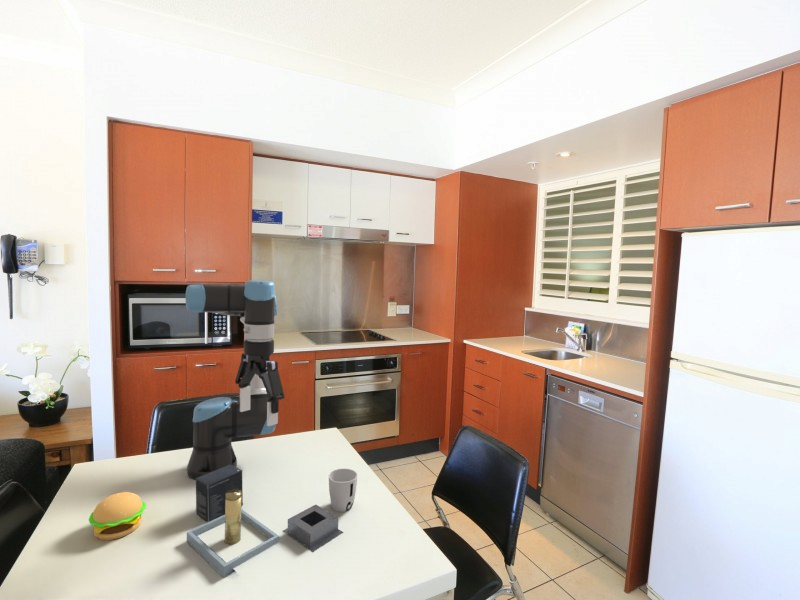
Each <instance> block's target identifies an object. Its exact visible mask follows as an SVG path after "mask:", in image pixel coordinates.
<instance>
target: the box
mask: <svg viewBox="0 0 800 600" xmlns="http://www.w3.org/2000/svg"><path fill="white" fill-rule="evenodd" d="M233 489H239V490H241V491H242V497H241V507H242V506H243V505H244V503H243V501H244V500H243V499H244V497H243V469H241V468H238V467H235V466H232V465H228V466H225V467H223V468H220V469H218V470H215V471H213V472H210V473H208V474H205V475H203V476H200V477H198V478H196V480H195V500H196V501H195V513H196V516H197V517H199V518H200V519H202V520H204V521H205V522H206V523H208V522H210V521H212V520H214V519H216V518H219V517H221V516H223V515H225V502H226V492H228V491H229V490H233Z"/></svg>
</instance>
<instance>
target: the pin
mask: <svg viewBox="0 0 800 600" xmlns="http://www.w3.org/2000/svg"><path fill="white" fill-rule="evenodd" d="M242 491H243V490H242ZM242 491H241V490H239V489H233V490H229V491H228V492H226V502H225V523H224V544H225V545H228V546H232V545H235V544H238V543H239V542H240V541H241V539H242V538H241V537H242V535H241V531H242V530H241V529H242V518H241V509H242V506H241V497H242Z"/></svg>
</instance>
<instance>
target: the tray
mask: <svg viewBox="0 0 800 600" xmlns="http://www.w3.org/2000/svg"><path fill="white" fill-rule="evenodd" d="M242 519H243V520H244V521H245V522H246V523H248V524H249V525H250V526H252V527H253V528H255V529H256V530H257V531H258V532H260V533H261V534H263V535H264V536H265V537H266V538H268V539H267V540H265V541H263V542H262V543H259V544H258V545H256V546H254V547H252V548H250V549H248V550H247V551H245V552H243V553H241V554H240V555H238V556H236V557H234V558H232V559H231V560H229V561H227V562H226V561H225V560H224V559H223V558H222V557H221V556H219V554H217V552H215V551H214V550H213V549H212V548H211V547H209V545H207V543H205V542H204V541H203V540H202V539H201V538H200V537H199V535H200V536H201V535H202V534H204V533H206V532H209V531H210V530H213V529H214V528H217V527H219V526H221V525H223V524H225V515H223V516H221V517H219V518H216V519H214V520H212V521H210V522H206V523H204V524H201V525H199V526H197V527H195V528H193V529H190V530H187V531H186V543H187V544H188V545H190V547H192V548H193V549H194V551H195V552H197V553H198V554H199V555H200V557H202V558H203V559H204V560H205V561H206V562H207V563H208V564H209V565H210V566H211V567H212V568H213V569H214V570H215V571H217V572H218V574H220V576H222V577H223V578H227V577H228V576H230V575H231V574H233V573H235V572H236V570H235V568H237V567H238V566H240V565H242V564H243V563H246V562H247V561H249V560H250V559H252V558H254V557H256V556H258V555H260V554H261V553H263V552H265V551H266V550H268V549H270V548H272V547H273V546H276V545H277V544H278V543H280V535H279V534H277V533H275V532H274V531H273V530H272V529H271V528H269V527H267V526H266V525H265V524H264V523H262V522H261V521H259V520H257V519H256V518H255V517H254V516H252V515H250V513H248V512H247V511H245V510H244V509H243V508H241V520H242Z"/></svg>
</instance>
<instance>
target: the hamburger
mask: <svg viewBox="0 0 800 600" xmlns="http://www.w3.org/2000/svg"><path fill="white" fill-rule="evenodd" d="M146 509H147V504H146V502H144V501H143V500H142V498H141V497H140V495H138V494H136V493H134V492H130V491H121V492H116V493H113V494H110V495H108V496H106V497H105V498H103V499H102V500H101V501H100V502H98V504H97V505H96V506H95V508H94V509H93V512H91V513H90V515H89V518H88V522H89V524H90V525H91V526H93V527H94V528H93V534H94V536H95V537H96V538H97V539H99V540H103V541H108V540H115V539H120V538H124V537H126V536H128V535H129V534H131V533H133V532H134V531H135V530H137V529H138V528H139V527H140V525H141V523H142V521H143V517H142V514H143V512H144V511H145V510H146Z"/></svg>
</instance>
